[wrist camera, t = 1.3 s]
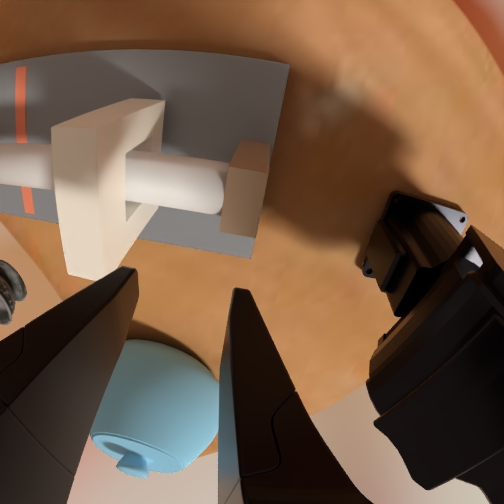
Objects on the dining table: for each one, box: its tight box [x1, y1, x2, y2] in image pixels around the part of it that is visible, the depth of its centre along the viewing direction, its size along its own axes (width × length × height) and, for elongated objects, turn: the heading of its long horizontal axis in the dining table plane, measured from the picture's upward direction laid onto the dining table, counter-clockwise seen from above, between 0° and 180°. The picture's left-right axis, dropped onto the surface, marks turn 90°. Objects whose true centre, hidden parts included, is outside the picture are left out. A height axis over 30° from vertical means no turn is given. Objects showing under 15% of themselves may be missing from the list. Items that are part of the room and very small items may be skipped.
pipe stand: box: [0, 49, 290, 259], centre depth 15 cm, size 22×12×6 cm, turn 81°
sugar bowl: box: [90, 339, 219, 478], centre depth 26 cm, size 15×15×12 cm
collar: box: [51, 98, 166, 281], centre depth 14 cm, size 2×6×7 cm, turn 171°
